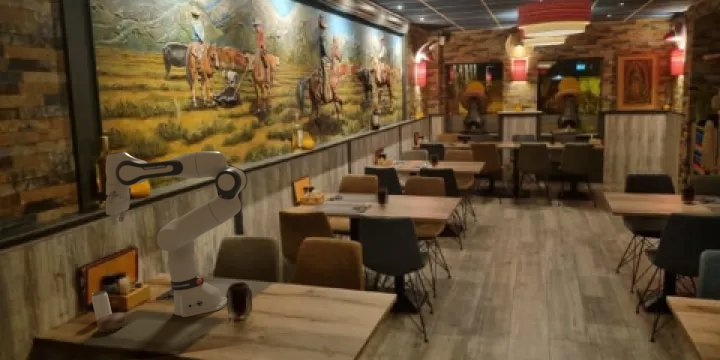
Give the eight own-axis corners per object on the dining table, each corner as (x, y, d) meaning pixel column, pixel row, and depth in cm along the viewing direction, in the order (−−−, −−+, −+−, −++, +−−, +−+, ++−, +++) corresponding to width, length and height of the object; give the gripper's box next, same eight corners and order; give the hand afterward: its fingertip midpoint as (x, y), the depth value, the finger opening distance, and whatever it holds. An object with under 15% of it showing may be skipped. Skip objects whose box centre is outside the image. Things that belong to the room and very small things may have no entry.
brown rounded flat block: (131, 319, 244) (129, 311, 244) (120, 330, 233) (118, 321, 233) (105, 323, 245) (103, 314, 244) (93, 334, 234) (91, 325, 233)
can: (106, 321, 247) (100, 295, 246) (93, 322, 249) (87, 296, 247) (115, 315, 254) (109, 289, 252) (103, 316, 255) (97, 290, 253)
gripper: (117, 192, 230) (118, 226, 231) (132, 188, 251) (132, 219, 252) (101, 192, 230) (101, 226, 231) (117, 188, 250) (117, 219, 251)
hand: (118, 223), depth 241 cm, fingers open, 8 cm apart
